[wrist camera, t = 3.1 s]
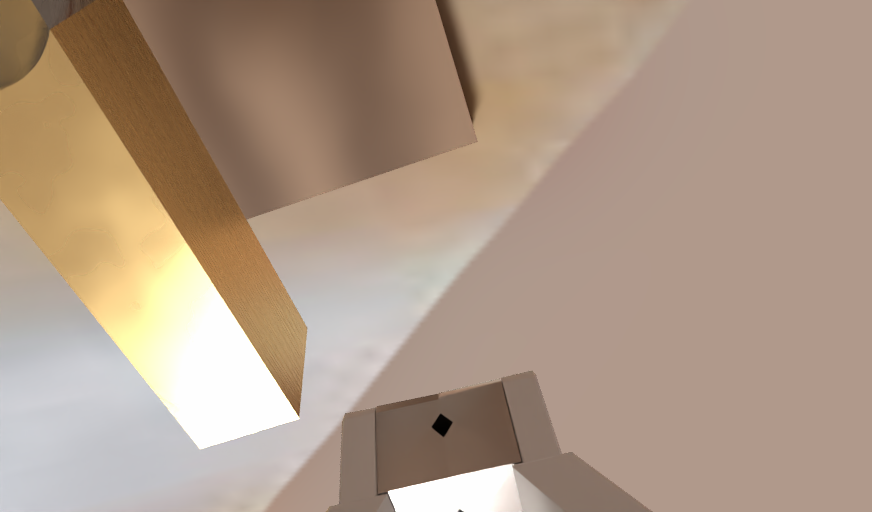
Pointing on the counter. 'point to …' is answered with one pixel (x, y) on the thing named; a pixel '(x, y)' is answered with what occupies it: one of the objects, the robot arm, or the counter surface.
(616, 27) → the counter surface
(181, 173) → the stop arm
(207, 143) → the lock plate
